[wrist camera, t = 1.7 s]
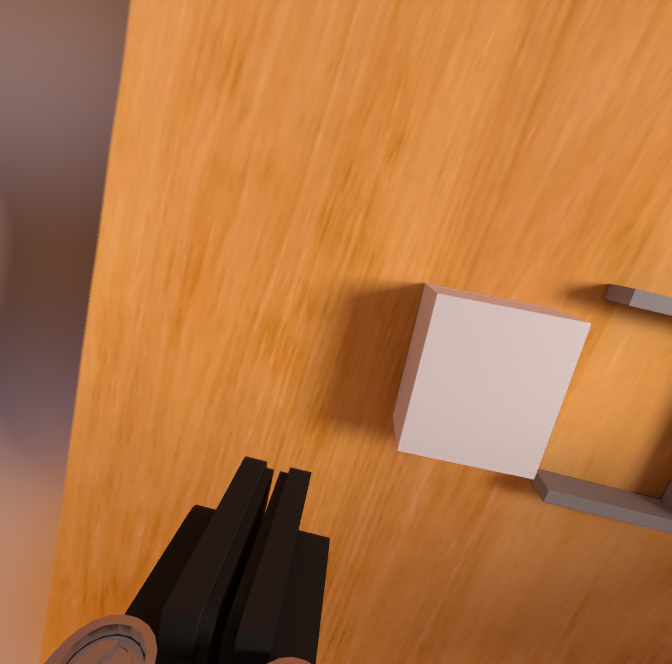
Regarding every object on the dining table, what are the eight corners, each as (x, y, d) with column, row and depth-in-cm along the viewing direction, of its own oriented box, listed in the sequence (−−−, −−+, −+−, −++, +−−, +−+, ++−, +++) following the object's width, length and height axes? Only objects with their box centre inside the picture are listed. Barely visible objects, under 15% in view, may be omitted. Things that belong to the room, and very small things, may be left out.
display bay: (771, 321, 25) (815, 331, 22) (668, 513, 29) (696, 539, 26) (609, 283, 25) (635, 289, 23) (528, 479, 29) (543, 501, 26)
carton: (549, 306, 26) (591, 323, 21) (505, 437, 28) (534, 479, 24) (424, 282, 26) (437, 293, 21) (392, 414, 29) (397, 450, 24)
